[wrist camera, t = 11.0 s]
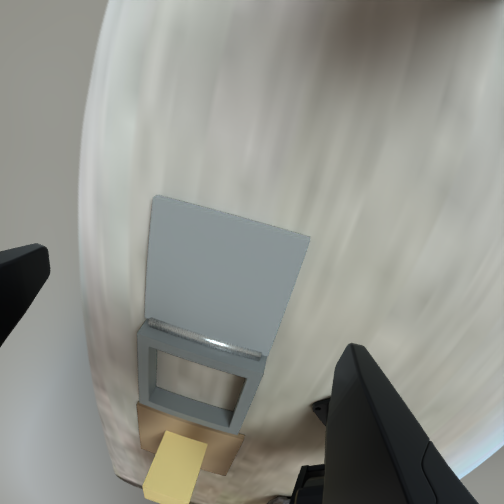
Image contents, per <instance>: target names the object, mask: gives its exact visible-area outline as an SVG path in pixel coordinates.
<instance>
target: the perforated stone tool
mask: <svg viewBox="0 0 504 504" xmlns="http://www.w3.org/2000/svg"><path fill="white" fill-rule="evenodd" d="M289 502H290V499H287V497H277V498H276V499H273V500H270V501H269V502H268V503H267V504H289Z"/></svg>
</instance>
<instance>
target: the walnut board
mask: <svg viewBox="0 0 504 504" xmlns="http://www.w3.org/2000/svg"><path fill="white" fill-rule="evenodd" d="M137 413H138V424H139V434H140V443H141V449H144V450H146V451H149V452H152V453H154V454H156V453H157V450H158V448H159V446H160V443H161V441H162V439H163V436H164V434H165V432H166V431H169V432H172V433H175V434H178V435H181V436H184V437H187V438H190V439H193V440H196V441H199V442H203V443H206V444H208V445H207V448H206V452H205V455H204V459H203V462H202V465H201V468H200V469H202V470H205V471H209V472H212V473H216V474H220V475H223V476H226V474H227V472H228V470H229V468H230V466H231V464H232V462H233V460H234V458H235V456H236V454H237V452H238V450H239V448H240V446H241V444H242V442H243V440H244V436H245V435H242V434H238V435H234V434H231V433H227V432H223V431H220V430H216V429H213V428H210V427H206V426H203V425H200V424H197V423H194V422H191V421H188V420H185V419H182V418H179V417H176V416H173V415H170V414H167V413H165V412H162V411H159V410H156V409H154V408H151V407H149V406H146V405H144V404H141V403H139V401H138V403H137Z"/></svg>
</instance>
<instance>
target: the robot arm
mask: <svg viewBox="0 0 504 504" xmlns="http://www.w3.org/2000/svg"><path fill="white" fill-rule="evenodd" d="M49 275H50V262H49V254H48V249H47V248H46V247H45V246H43V245H40V244H38V243H35V244H30V245H26V246H22V247H18V248H13V249H9V250H5V251H1V252H0V347H1V346H2V344H3V343H4V341H5V340H6V338H7V337H8V336H9V334H10V333H11V332H12V330H13V329H14V327H15V326H16V325H17V323H18V322H19V321H20V319H21V318H22V317H23V315H24V314H25V313H26V311H27V309H28V308H29V306H30V305H31V303H32V302H33V300H34V299H35V297H36V295H37V294H38V292H39V291H40V289H41V288H42V286H43V285H44V283H45V282H46V280H47V279H48V277H49ZM312 409H313V411H314V412H315V414H316V415H317V416H318V418H319V419H320V420H321V421H322V423H323V424H324V425H325V426H326V437H325V459H324V464H320V465H313V466H309V465H305V466H302V467H301V470H300V473H299V475H298V478H297V481H296V484H295V487H294V490H293V493H292V496H291V499H290V502H289V504H478V502H477V501H476V500H475V499H474V497H473V496H472V495H471V494H470V492H469V491H468V490H467V489H466V487H465V486H464V485H463V484H462V482H461V481H460V480H459V479H458V477H457V476H456V475H455V474H454V472H453V471H452V470H451V468H450V467H449V466H448V464H447V463H446V462H445V460H444V459H443V457H442V456H441V454H440V453H439V452H438V450H437V449H436V447H435V446H434V444H433V443H432V441H429V440H430V439H429V437H428V436H427V434H426V433H425V431H424V430H423V428H422V427H421V425H420V424H419V422H418V421H417V420H416V418H415V417H414V415H413V414H412V412H411V411H410V410H409V408H408V407H407V405H406V404H405V402H404V401H403V400H402V398H401V397H400V395H399V394H398V392H397V391H396V390H395V388H394V387H393V385H392V384H391V383H390V381H389V380H388V378H387V377H386V376H385V374H384V373H383V371H382V370H381V369H380V367H379V366H378V364H377V363H376V362H375V360H374V359H373V357H372V356H371V355H370V353H369V352H368V351H367V349H366V348H365V347H364V346H362V345H358V344H354V343H350V344H348V345H347V347H346V348H345V350H344V352H343V354H342V356H341V357H340V359H339V361H338V362H337V365H336V367H335V371H334V379H333V386H332V393H331V399H327V400H324V401H320V402H316V403H314V404H313V407H312Z"/></svg>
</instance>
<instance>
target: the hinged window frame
mask: <svg viewBox="0 0 504 504" xmlns="http://www.w3.org/2000/svg"><path fill="white" fill-rule="evenodd" d="M309 242H310V237H309V236H305V235H302V234H299V233H295V232H292V231H288V230H285V229H281V228H278V227H274V226H271V225H267V224H264V223H260V222H257V221H253V220H250V219H246V218H242V217H239V216H235V215H232V214H228V213H224V212H221V211H217V210H213V209H210V208H206V207H202V206H198V205H195V204H191V203H187V202H183V201H180V200H176V199H172V198H168V197H164V196H160V195H156V196H154V197H153V203H152V213H151V223H150V234H149V245H148V259H147V274H146V294H145V318H147V319H146V321H145V322H144V324H143V325H142V327H141V328H140V330H139V331H138V333H137V357H138V385H139V403H141V404H144V405H146V406H149V407H151V408H154V409H156V410H159V411H162V412H165V413H167V414H170V415H173V416H176V417H179V418H182V419H185V420H188V421H191V422H194V423H197V424H200V425H203V426H206V427H210V428H213V429H216V430H220V431H223V432H227V433H231V434H234V435H238V433H239V431H240V428H241V426H242V424H243V421H244V419H245V417H246V414H247V412H248V410H249V407H250V405H251V403H252V400H253V398H254V396H255V393H256V391H257V388H258V386H259V383H260V381H261V379H262V376H263V374H264V369H265V364H266V359H267V356H268V355H269V352H270V349H271V347H272V344H273V342H274V339H275V336H276V334H277V331H278V329H279V326H280V323H281V321H282V318H283V315H284V312H285V310H286V307H287V304H288V302H289V299H290V296H291V293H292V291H293V288H294V285H295V282H296V279H297V277H298V274H299V271H300V268H301V265H302V262H303V260H304V257H305V254H306V251H307V248H308V245H309ZM157 350H160V351H163V352H166V353H169V354H171V355H174V356H177V357H180V358H183V359H186V360H189V361H192V362H195V363H198V364H201V365H204V366H207V367H211V368H214V369H217V370H220V371H224V372H227V373H230V374H234V375H237V376H241V377H244V378H246V379H245V381H244V384H243V387H242V390H241V393H240V395H239V398H238V401H237V404H236V406H235V409H234V412H232V411H229V410H225V409H222V408H218V407H215V406H212V405H208V404H205V403H202V402H199V401H196V400H193V399H190V398H187V397H184V396H181V395H178V394H175V393H172V392H169V391H167V390H164V389H161V388H158V387H156V367H157Z"/></svg>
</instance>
